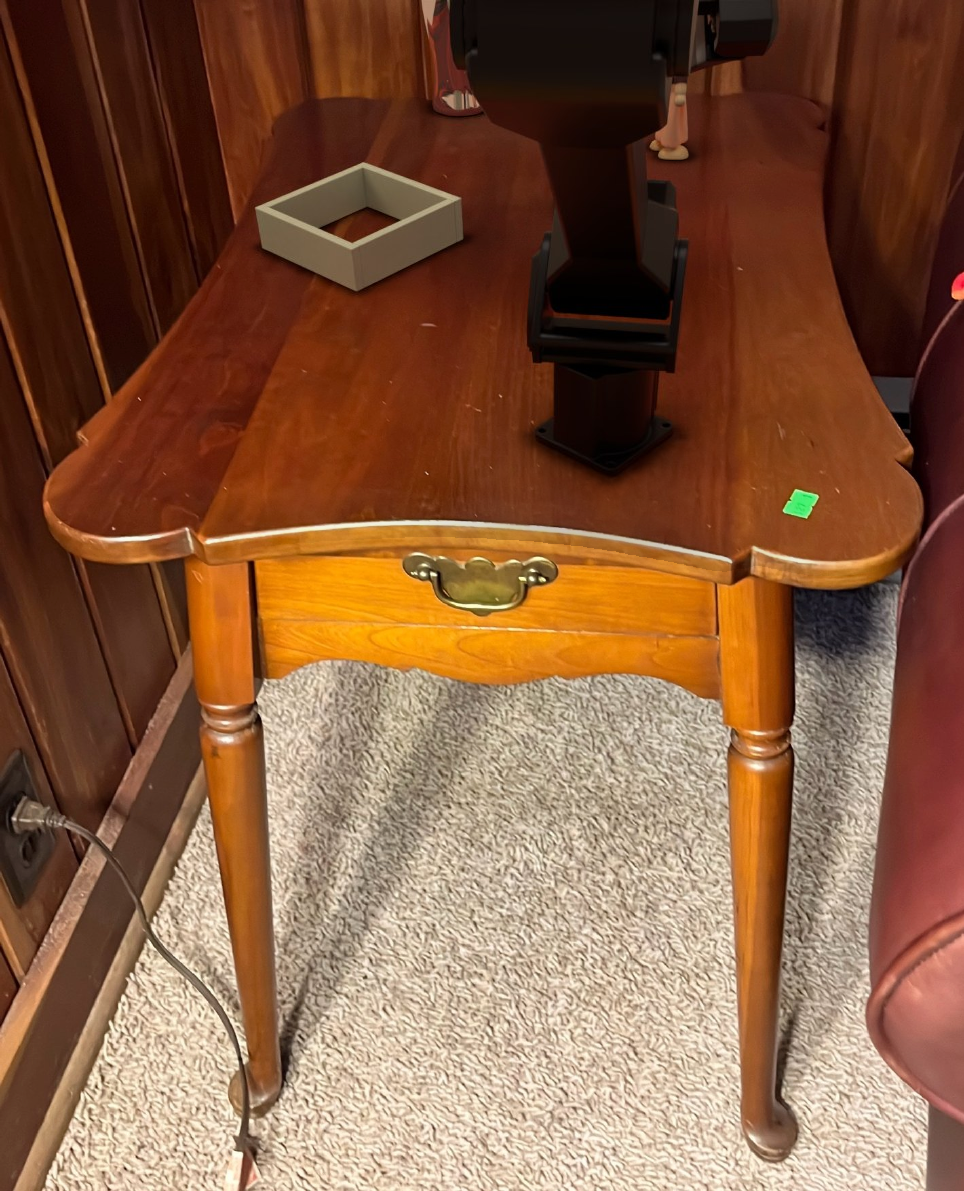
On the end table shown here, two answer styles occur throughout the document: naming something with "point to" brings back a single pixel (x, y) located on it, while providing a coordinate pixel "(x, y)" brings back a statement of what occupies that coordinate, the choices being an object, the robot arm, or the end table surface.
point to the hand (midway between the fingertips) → (614, 72)
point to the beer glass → (446, 64)
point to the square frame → (357, 265)
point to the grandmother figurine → (674, 124)
